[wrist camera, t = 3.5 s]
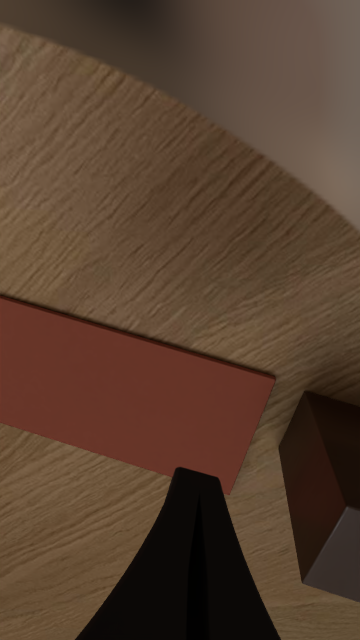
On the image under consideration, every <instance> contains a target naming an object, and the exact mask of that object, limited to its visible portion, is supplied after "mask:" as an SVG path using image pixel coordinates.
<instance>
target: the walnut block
mask: <svg viewBox="0 0 360 640" xmlns="http://www.w3.org/2000/svg"><path fill="white" fill-rule="evenodd" d="M279 455H280V461H281V466H282V472H283V478H284V483H285V489H286V495H287V501H288V506H289V512H290V518H291V524H292V529H293V535H294V541H295V546H296V552H297V558H298V564H299V569H300V575H301V581H302V583H303V584H305V585H308V586H311V587H314V588H317V589H320V590H323V591H327V592H330V593H333V594H336V595H339V596H342V597H345V598H348V599H351V600H354V601H357V602H360V407H358V406H355V405H352V404H348V403H345V402H341V401H338V400H335V399H331V398H328V397H325V396H321V395H318V394H314V393H311V392H308V391H304V393H303V396H302V398H301V400H300V402H299V405H298V407H297V409H296V411H295V414H294V416H293V418H292V420H291V422H290V425H289V427H288V429H287V431H286V434H285V436H284V438H283V440H282V443H281V445H280V447H279Z"/></svg>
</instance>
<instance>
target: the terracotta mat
mask: <svg viewBox="0 0 360 640" xmlns="http://www.w3.org/2000/svg"><path fill="white" fill-rule="evenodd" d="M275 381H276V378H275V377H274V376H271V375H267V374H264V373H261V372H257V371H254V370H251V369H247V368H244V367H240V366H237V365H234V364H230V363H227V362H223V361H220V360H217V359H213V358H210V357H207V356H203V355H200V354H196V353H193V352H190V351H186V350H183V349H179V348H176V347H173V346H169V345H166V344H163V343H159V342H156V341H152V340H149V339H146V338H142V337H139V336H136V335H132V334H129V333H125V332H122V331H119V330H115V329H112V328H108V327H105V326H102V325H98V324H95V323H92V322H88V321H85V320H81V319H78V318H75V317H71V316H68V315H64V314H61V313H58V312H54V311H51V310H48V309H44V308H41V307H37V306H34V305H31V304H27V303H24V302H20V301H17V300H14V299H10V298H7V297H4V296H0V423H3V424H6V425H9V426H13V427H16V428H19V429H22V430H25V431H28V432H31V433H35V434H38V435H41V436H44V437H47V438H50V439H54V440H57V441H60V442H63V443H66V444H69V445H72V446H76V447H79V448H82V449H85V450H88V451H91V452H94V453H98V454H101V455H104V456H107V457H110V458H113V459H116V460H120V461H123V462H126V463H129V464H132V465H135V466H138V467H142V468H145V469H148V470H151V471H154V472H157V473H160V474H164V475H167V476H170V477H173V474H174V471H175V468H177V467H183V468H187V469H191V470H194V471H198V472H201V473H205V474H208V475H212V476H216V477H218V478H219V480H220V482H221V486H222V490H223V494H227V495H230V492H231V490H232V487H233V485H234V482H235V480H236V477H237V475H238V472H239V470H240V468H241V465H242V463H243V460H244V458H245V455H246V453H247V450H248V448H249V445H250V443H251V440H252V438H253V435H254V433H255V430H256V428H257V426H258V423H259V421H260V418H261V416H262V413H263V411H264V408H265V406H266V403H267V401H268V398H269V396H270V393H271V391H272V388H273V386H274V384H275Z"/></svg>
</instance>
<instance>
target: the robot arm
mask: <svg viewBox="0 0 360 640" xmlns="http://www.w3.org/2000/svg"><path fill="white" fill-rule="evenodd" d="M75 640H281V639H280V637H279V635H278V633H277V631H276V629H275V627H274V625H273V622H272V620H271V618H270V616H269V614H268V612H267V610H266V608H265V606H264V603H263V601H262V599H261V597H260V594H259V592H258V590H257V588H256V585H255V583H254V580H253V578H252V575H251V573H250V571H249V568H248V566H247V563H246V560H245V558H244V555H243V553H242V550H241V547H240V544H239V541H238V539H237V536H236V533H235V530H234V527H233V524H232V521H231V518H230V515H229V511H228V508H227V505H226V501H225V498H224V494H223V490H222V486H221V482H220V480H219V478H218V477H216V476H212V475H208V474H205V473H201V472H198V471H194V470H191V469H187V468H183V467H177V468H175V471H174V474H173V477H172V480H171V483H170V487H169V490H168V493H167V496H166V499H165V502H164V505H163V507H162V509H161V511H160V513H159V515H158V517H157V519H156V521H155V523H154V525H153V527H152V529H151V530H150V532H149V534H148V536H147V537H146V539H145V541H144V542H143V544H142V546H141V548H140V549H139V551H138V553H137V554H136V556H135V557H134V559H133V561H132V562H131V564H130V565H129V567H128V568H127V570H126V571H125V573H124V574H123V576H122V577H121V579H120V580H119V582H118V583H117V585H116V586H115V588H114V589H113V590H112V592H111V593H110V595H109V596H108V597H107V599H106V600H105V601H104V603H103V604H102V606H101V607H100V608H99V610H98V611H97V612H96V614H95V615H94V616H93V618H92V619H91V620H90V622H89V623H88V624H87V625H86V627H85V628H84V629H83V630H82V632H81V633H80V634H79V635H78V637H77V638H76V639H75Z"/></svg>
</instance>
